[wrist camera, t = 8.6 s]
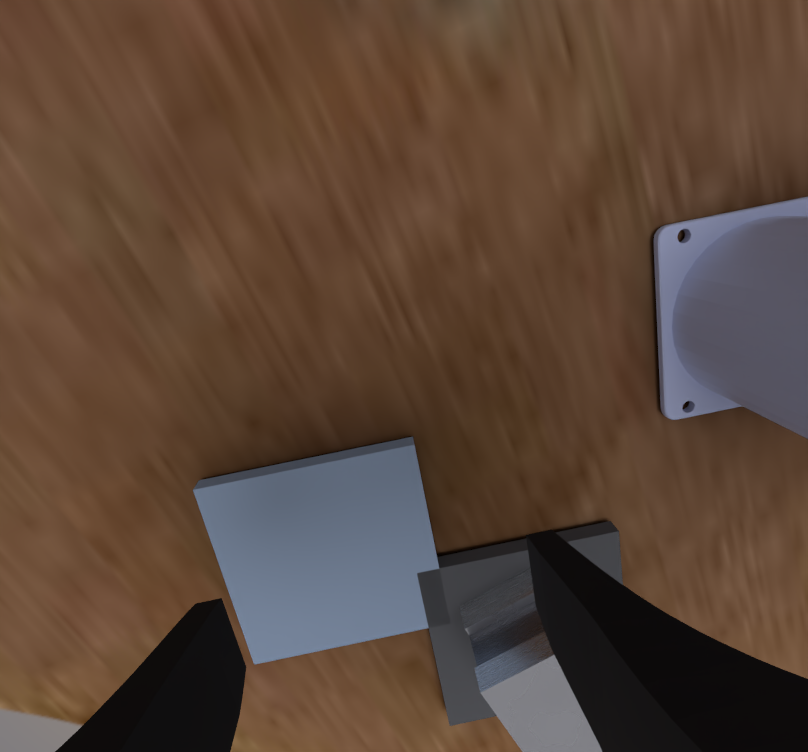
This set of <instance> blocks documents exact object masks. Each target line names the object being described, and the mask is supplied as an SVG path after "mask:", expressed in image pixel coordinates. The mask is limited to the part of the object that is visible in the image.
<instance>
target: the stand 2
mask: <svg viewBox="0 0 808 752" xmlns="http://www.w3.org/2000/svg"><path fill="white" fill-rule="evenodd" d="M555 533H557V534H558V535H559V536H560V537H562V538H563V539H564V540H565V541H566V542H568V543H569V544H570V545H571V546H573V547H574V548H575V549H576V550H577V551H579V552H580V553H581V554H582V555H584V556H585V557H586V558H587V559H589V560H590V561H591V562H593V563H594V564H595V565H596V566H598V567H599V568H600V569H602V570H603V571H604V572H606V573H607V574H609V575H610V576H611V577H613V578H614V579H615V580H617V581H618V582H619V583H621V584H622V585H623V582H622V568H621V555H620V541H619V531H618V530H617V528H616V527H615V526H614V525H613V523H612V522H611V521H608V522H604V523H599V524H594V525H589V526H584V527H579V528H575V529H570V530H565V531H560V532H555ZM437 559H438V564H439V569H435V570H430V571H425V572H420V573H417V577H418V581H419V586H420V590H421V595H422V600H423V604H424V609H425V614H426V618H427V623H428V627H429V632H430V637H431V641H432V646H433V650H434V655H435V660H436V664H437V669H438V674H439V678H440V683H441V687H442V692H443V697H444V701H445V706H446V710H447V715H448V720H449V724H450V726H452V725H456V724H461V723H466V722H470V721H475V720H480V719H485V718H489V717H494V716H497V715H496V714H495V713H494V711H493V710H492V708H491V707H490V706H489V704H488V703H487V701H486V700H485V699H484V697H483V696H482V694H481V693H480V689H479V685H478V681H477V677H476V673H475V669H474V668H475V667H477V664H476V660H475V656H474V652H473V648H472V644H471V640H470V636H469V634H468V633H467V631H466V630H465V628H464V624H463V620H462V615H461V611H460V607H459V605H461V604H463V603H465V602H467V601H469V600H470V599H472V598H474V597H476V596H478V595H480V594H482V593H484V592H485V591H487V590H489V589H491V588H493V587H495V586H497V585H499V584H501V583H502V582H504V581H506V580H508V579H510V578H512V577H514V576H516V575H517V574H519V573H521V572H523V571H525V570H527V569H529V568H530V561H529V554H528V546H527V539H522V540H517V541H512V542H507V543H502V544H498V545H493V546H488V547H483V548H478V549H474V550H469V551H464V552H459V553H454V554H449V555H445V556H440V557H437Z"/></svg>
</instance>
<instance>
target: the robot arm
mask: <svg viewBox="0 0 808 752" xmlns="http://www.w3.org/2000/svg"><path fill="white" fill-rule="evenodd" d="M681 230H684V232H685V237H684V239H683V240H682V241H681V242H679V241H678V238H677V236H678V233H679V232H680V231H681ZM654 264H655V287H656V310H657V334H658V357H659V380H660V404H661V412H662V413H663V415H664V416H666V417H667V418H669V419H671V420H678V419H683V418H688V417H692V416H697V415H702V414H707V413H712V412H717V411H722V410H727V409H731V408H736V407H741V406H743V407H745V408H747V409H749V410H751V411H753V412H755V413H757V414H759V415H761V416H763V417H765V418H767V419H769V420H771V421H773V422H775V423H777V424H779V425H781V426H783V427H785V428H787V429H789V430H791V431H793V432H795V433H797V434H799V435H801V436H803V437H805V438H807V439H808V196H807V197H802V198H797V199H792V200H787V201H782V202H777V203H772V204H767V205H762V206H757V207H753V208H748V209H743V210H738V211H733V212H728V213H723V214H718V215H713V216H708V217H703V218H698V219H693V220H688V221H683V222H678V223H673V224H668V225H664V226H662V227H660V228H659V229H658V230H657V231H656V233H655V235H654ZM687 401H689V405H688V407H687V408H685V409H682V407H683V404H684V403H685V402H687ZM526 539H527V546H528V554H529V561H530V568H531V576H532V583H533V590H534V597H535V605H536V608H537V611H538V614H539V617H540V619H541V622H542V625H543V628H544V630H545V633H546V636H547V638H548V641H549V644H550V646H551V649H552V651H553V653H554V655H555V657H556V659H557V661H558V663H559V665H560V667H561V669H562V671H563V673H564V675H565V677H566V679H567V681H568V683H569V685H570V687H571V689H572V691H573V693H574V695H575V697H576V699H577V701H578V703H579V705H580V707H581V709H582V711H583V713H584V715H585V717H586V719H587V721H588V723H589V725H590V727H591V729H592V731H593V733H594V735H595V737H596V739H597V741H598V743H599V745H600V747H601V750H602V752H808V679H806V678H804V677H801V676H798V675H796V674H793V673H791V672H788V671H785V670H783V669H780V668H778V667H775V666H773V665H770V664H768V663H766V662H763V661H761V660H758V659H756V658H754V657H751V656H749V655H747V654H745V653H743V652H741V651H738V650H736V649H734V648H732V647H730V646H728V645H726V644H723V643H721V642H719V641H717V640H715V639H713V638H711V637H709V636H707V635H705V634H703V633H701V632H699V631H697V630H696V629H694V628H692V627H690V626H688V625H686V624H685V623H683V622H681V621H679V620H677V619H676V618H674V617H672V616H670V615H668V614H667V613H665V612H663V611H662V610H660V609H658V608H657V607H655V606H654V605H652V604H651V603H649V602H647V601H646V600H644V599H643V598H641V597H640V596H638V595H637V594H635V593H634V592H632V591H631V590H629V589H628V588H627V587H625V586H624V585H622V584H621V583H619V582H618V581H617V580H615V579H614V578H613V577H611V576H610V575H609V574H607V573H606V572H604V571H603V570H602V569H600V568H599V567H598V566H596V565H595V564H594V563H593V562H591V561H590V560H589V559H587V558H586V557H585V556H584V555H582V554H581V553H580V552H579V551H577V550H576V549H575V548H574V547H573V546H571V545H570V544H569V543H568V542H566V541H565V540H564V539H563V538H562V537H560V536H559V535H558V534H557V533H555V532H554V531H553V530H548V531H544V532H539V533H534V534H529V535H526ZM245 672H246V665H245V662H244V660H243V657H242V654H241V651H240V648H239V646H238V643H237V640H236V637H235V634H234V632H233V629H232V626H231V623H230V621H229V618H228V615H227V612H226V609H225V607H224V604H223V601H222V598H221V599H216V600H211V601H206V602H202V603H197V604H195V605H194V606H193V607H192V608H191V609H190V610H189V611H188V612H187V613H186V614H185V615H184V617H183V618H182V619H181V620H180V621H179V622H178V623H177V624H176V626H175V627H174V628H173V629H172V630H171V631H170V632H169V633H168V635H167V636H166V637H165V638H164V639H163V640H162V641H161V643H160V644H159V645H158V646H157V647H156V648H155V649H154V650H153V652H152V653H151V654H150V655H149V656H148V657H147V658H146V659H145V661H144V662H143V663H142V664H141V665H140V666H139V667H138V668H137V669H136V671H135V672H134V673H133V674H132V675H131V676H130V677H129V678H128V679H127V680H126V682H125V683H124V684H123V685H122V686H121V687H120V688H119V689H118V690H117V691H116V692H115V693H114V694H113V695H112V696H111V697H110V698H109V699H108V700H107V701H106V702H105V703H104V704H103V705H102V707H101V708H100V709H99V710H98V711H97V712H96V713H95V714H94V715H93V716H92V717H91V718H90V719H89V720H88V721H87V722H86V723H85V724H84V725H83V726H82V727H81V728H80V729H79V730H78V731H77V732H76V733H75V734H74V735H73V736H72V737H71V738H70V739H68V741H66V742H65V743H64V744H63V745H62V746H61V747H60V748H59V749H58V750H57V751H55V752H230V750H231V746H232V742H233V739H234V735H235V731H236V727H237V723H238V719H239V715H240V709H241V702H242V695H243V688H244V680H245Z"/></svg>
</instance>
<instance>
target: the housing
mask: <svg viewBox="0 0 808 752" xmlns="http://www.w3.org/2000/svg"><path fill="white" fill-rule="evenodd" d="M459 607H460V611H461V615H462V620H463V624H464V628H465V630H466V631H467V633H468V634H469V636H470V640H471V644H472V648H473V652H474V656H475V660H476V664H477V667H475V668H474V669H475V673H476V677H477V681H478V685H479V689H480V693H481V694H482V696H483V697H484V699H485V700H486V701H487V703H488V704H489V706H490V707H491V708H492V710H493V711H494V713H495V714H496V715H497V717H498V718H499V719H500V721H501V722H502V724H503V725H504V726H505V728H506V729H507V731H508V732H509V733H510V735H511V736H512V738H513V739H514V740H515V742H516V743H517V745H518V746H519V747H520V749H521V750H522V752H602V750H601V747H600V745H599V743H598V741H597V739H596V737H595V735H594V733H593V731H592V729H591V727H590V725H589V723H588V721H587V719H586V717H585V715H584V713H583V711H582V709H581V707H580V705H579V703H578V701H577V699H576V697H575V695H574V693H573V691H572V689H571V687H570V685H569V683H568V681H567V679H566V677H565V675H564V673H563V671H562V669H561V667H560V665H559V663H558V661H557V659H556V657H555V655H554V653H553V651H552V649H551V646H550V644H549V641H548V638H547V636H546V633H545V630H544V628H543V625H542V622H541V619H540V617H539V614H538V611H537V608H536V605H535V597H534V590H533V583H532V576H531V568H529V569H527V570H525V571H523V572H521V573H519V574H517V575H516V576H514V577H512V578H510V579H508V580H506V581H504V582H502V583H501V584H499V585H497V586H495V587H493V588H491V589H489V590H487V591H485V592H484V593H482V594H480V595H478V596H476V597H474V598H472V599H470V600H469V601H467V602H465V603H463V604H461V605H459Z"/></svg>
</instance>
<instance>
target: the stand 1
mask: <svg viewBox="0 0 808 752" xmlns="http://www.w3.org/2000/svg"><path fill="white" fill-rule="evenodd" d="M193 492H194V494H195V497H196V500H197V503H198V506H199V509H200V512H201V514H202V517H203V520H204V523H205V526H206V529H207V531H208V534H209V537H210V540H211V543H212V546H213V549H214V551H215V554H216V557H217V560H218V563H219V566H220V568H221V571H222V574H223V577H224V580H225V583H226V586H227V588H228V591H229V594H230V597H231V600H232V603H233V605H234V608H235V611H236V614H237V617H238V620H239V623H240V625H241V628H242V631H243V634H244V637H245V640H246V642H247V645H248V648H249V651H250V654H251V657H252V660H253V662H254V664H259V663H264V662H269V661H273V660H278V659H283V658H288V657H292V656H297V655H302V654H307V653H311V652H316V651H321V650H326V649H331V648H335V647H340V646H345V645H350V644H354V643H359V642H364V641H369V640H374V639H378V638H383V637H388V636H393V635H397V634H402V633H407V632H412V631H416V630H421V629H426V628H429V627H428V623H427V618H426V614H425V609H424V604H423V600H422V595H421V590H420V586H419V581H418V577H417V573H420V572H425V571H430V570H435V569H439V564H438V559H437V554H436V549H435V544H434V539H433V534H432V530H431V525H430V520H429V515H428V510H427V505H426V500H425V495H424V490H423V485H422V480H421V475H420V470H419V465H418V460H417V455H416V450H415V445H414V440H413V437H409V438H404V439H399V440H394V441H389V442H384V443H379V444H374V445H370V446H365V447H360V448H355V449H350V450H345V451H340V452H335V453H330V454H326V455H321V456H316V457H311V458H306V459H301V460H296V461H291V462H286V463H281V464H277V465H272V466H267V467H262V468H257V469H252V470H247V471H242V472H237V473H233V474H228V475H223V476H218V477H213V478H208V479H203V480H199V481H198V483H197V484H196V486H195V488H194V489H193Z"/></svg>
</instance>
